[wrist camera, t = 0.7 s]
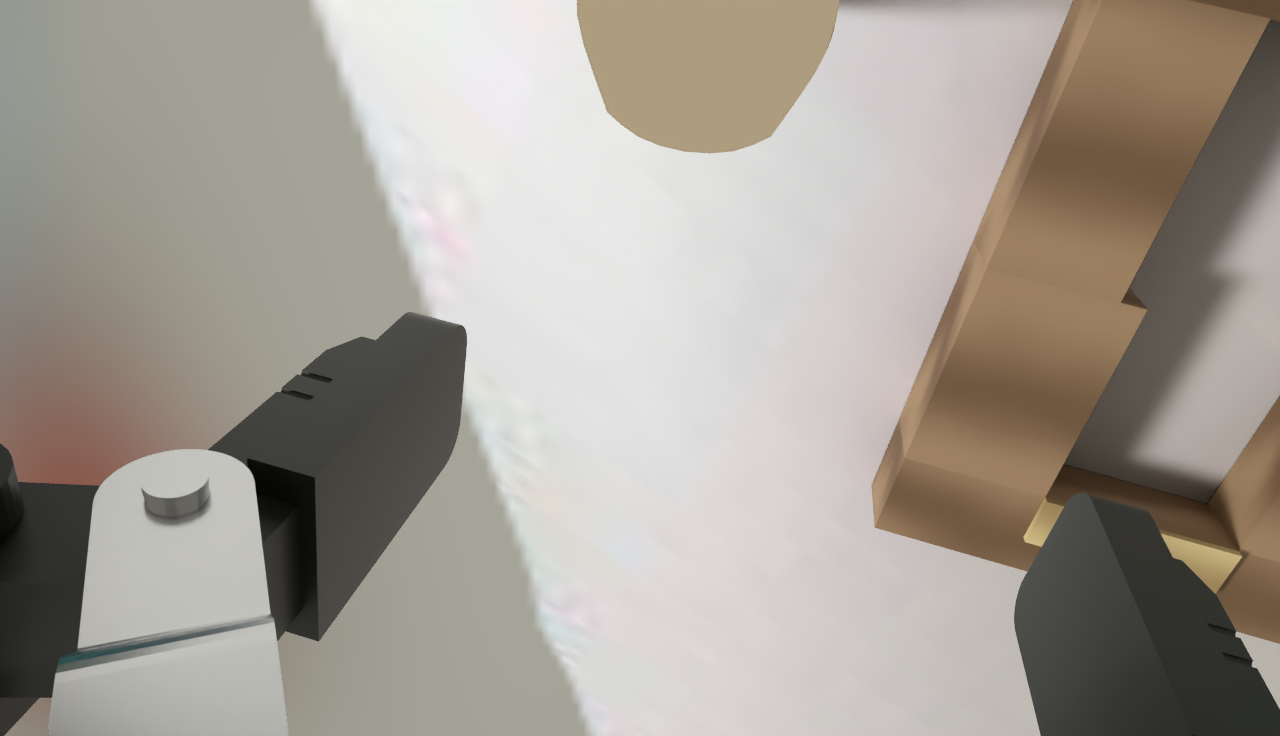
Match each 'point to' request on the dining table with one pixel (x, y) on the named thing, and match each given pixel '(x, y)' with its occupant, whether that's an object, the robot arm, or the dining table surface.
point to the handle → (704, 65)
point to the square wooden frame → (1082, 309)
